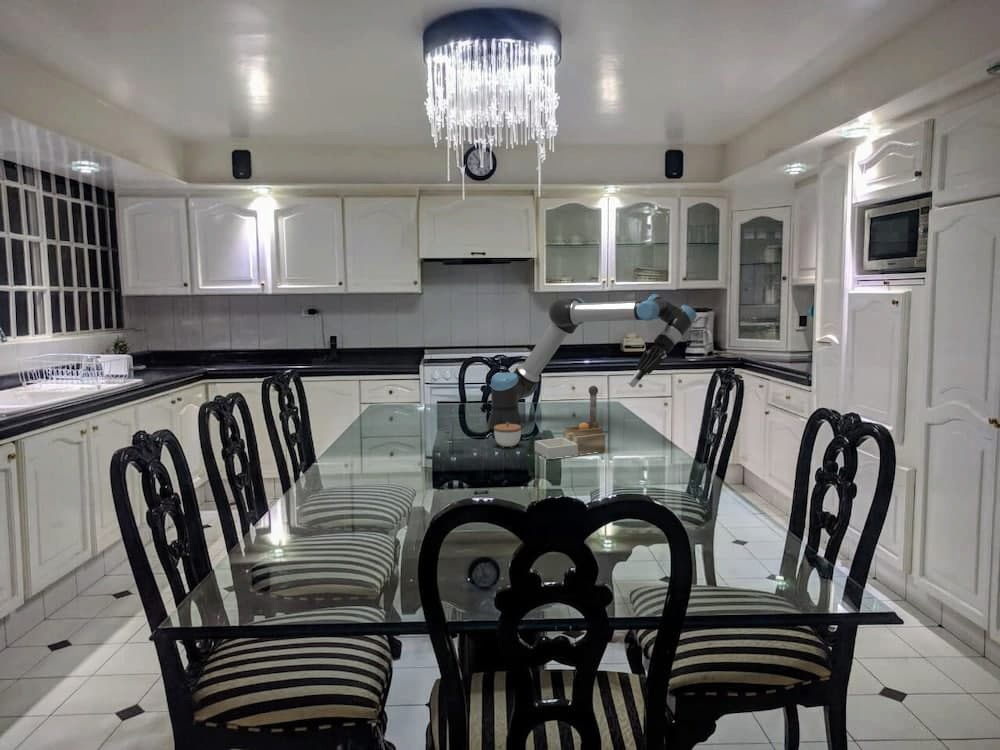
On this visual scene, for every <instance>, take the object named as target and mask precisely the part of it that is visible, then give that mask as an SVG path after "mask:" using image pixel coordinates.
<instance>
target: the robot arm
mask: <svg viewBox="0 0 1000 750" xmlns="http://www.w3.org/2000/svg"><path fill="white" fill-rule="evenodd" d="M548 316H549V319H550V325H549V326H548V327H547V329H546V330H545V332H543V335H542V336H541V338H540V339H539V340H538V342H537V343H536V345H535V346H534V348H533V349H532V350H531V352H530V353H529V355H528V356H527V358H526V360H525V361H524V362H523V363H521V364H518V365H517V366H516V368H515V369H514V370H513V372H509V371H508V372H502V373H501V372H500V373H499V372H498V373H497V374H494V375H493V376H492V377H491V380H490V381H491V382H490V388H491V389H490V391H491V392H490V394H491V395H490V396H491V398H490V399H491V411H490V415H489V417H488V422H487V428H488V429H489V430H492V431H494V426H496V425H499V424H506V422H509V424H517V425H520V426H521V429H522V428H523V420H522V418H521V413H520V411H519V400H521V399H525V398H528V397H530V396H532V395H533V394H534V393H535V391H536V390H537V388H538V383H539V381H541V380H540V374H541V373H542V372H543V370H544V369H545V367H546V366H547V364H548V363H549V362H550V360H551V359H552V357H553V356H554V354H555V353H556V352H557V350H558V349H559V347H560V346H561V345H562V343H563V342H564V341H565V339H566V337H567V336H568V335H572V334H573V333H574V332H575V331H576V329H577V328H578V327H579V325H582V324H583V323H586V322H587V323H589V322H590V323H593V322H621V321H623V322H624V321H646V322H647V321H648V322H649V321H653V320H656V319H660V320H661V321H663V322H665V323H666V325H665V326H664V328H662V329H661V331H660V334H658V335H657V336H656V338H654V340H653V343H654V344H653V346H652V347H650V349H644V351H643V354H642V356H641V357H640V358H639V360H638V362H637V364H636V366H635V369H636V371H635V373H634V374H632V376H631V378H629V380H628V382H627V384H628V385H629V386H630V387H631V388H635V387H636V386H637V385H638V383H639V382H640V381H641V380H642V379H643V378H644V376H646V375H647V374H648V375H650V374H651V373H652V372H653V371H655V370H656V368H657V367H658V366H660V364H661V363H663V361H665V360H666V359H668V358H669V357H668V355H667V353H671V351H672V350H673V348H674V347H675V345H677V343H679V341H680V339H681V338H682V337H683V336H684V335H685V334H686V332H687V331H688V330H689V328H690V327H692V325H693V324H694V322H695V320H696V319H697V312H696V311H695V310H694V309H693V308H692V307H691V306H689V305H687V304H683V305H681V307H678V306H676V305H675V304H673V303H671V302H669V301H668V300H667V299H665V298H664V297H663V296H660V295H659V294H657V293H653V294H651V295H650V296H649V297H648V298H647V300H627V301H625V300H624V301H607V302H585V300H583V299H582V298H580V297H574V296H571V297H565V298H560V299H557V300H555V301H554V302H553V303H552V304H551V305H550V306H549V309H548Z"/></svg>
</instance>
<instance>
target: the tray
mask: <svg viewBox="0 0 1000 750" xmlns="http://www.w3.org/2000/svg"><path fill="white" fill-rule="evenodd" d="M535 451H536V452H538V453H540V454H542V455H544V456H546V457H548V458H556V457H565V456H575V455H578V444H576V443H574V442H571V441H569V440H567V439H565V438H563V437H556V438H555V437H554V438H548V439H540V440H534V452H535Z"/></svg>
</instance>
